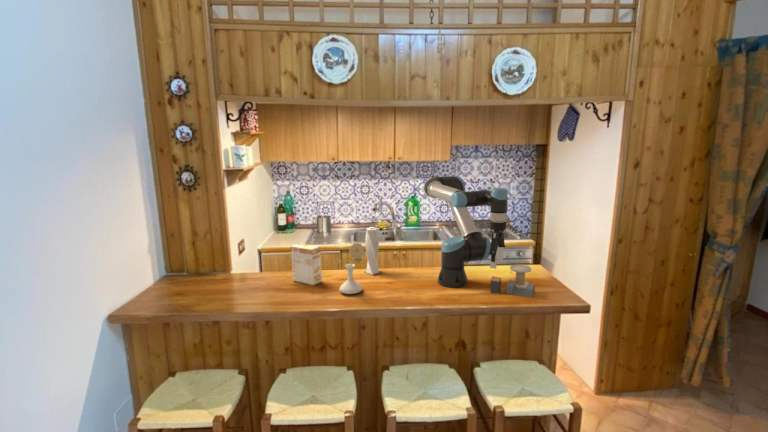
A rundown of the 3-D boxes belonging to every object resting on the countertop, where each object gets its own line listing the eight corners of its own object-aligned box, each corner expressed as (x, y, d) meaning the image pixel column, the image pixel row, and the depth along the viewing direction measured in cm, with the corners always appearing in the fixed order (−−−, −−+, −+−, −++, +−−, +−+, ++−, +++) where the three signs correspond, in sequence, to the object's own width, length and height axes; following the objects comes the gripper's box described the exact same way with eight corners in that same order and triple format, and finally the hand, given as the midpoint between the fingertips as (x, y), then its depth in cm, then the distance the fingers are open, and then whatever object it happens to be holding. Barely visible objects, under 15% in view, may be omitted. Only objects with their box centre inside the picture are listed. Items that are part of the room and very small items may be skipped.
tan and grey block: (490, 292, 200) (490, 278, 199) (492, 289, 204) (492, 276, 203) (498, 294, 198) (499, 280, 197) (500, 291, 202) (501, 277, 201)
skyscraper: (383, 272, 232) (382, 224, 226) (373, 276, 226) (372, 226, 220) (372, 269, 237) (371, 222, 232) (362, 273, 232) (361, 224, 226)
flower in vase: (339, 297, 198) (337, 246, 193) (338, 288, 209) (337, 240, 204) (366, 295, 200) (365, 245, 195) (364, 286, 211) (363, 239, 206)
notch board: (505, 293, 199) (506, 285, 198) (509, 288, 206) (509, 280, 205) (531, 297, 193) (532, 289, 192) (534, 292, 200) (535, 284, 199)
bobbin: (507, 287, 207) (508, 269, 205) (511, 280, 216) (512, 263, 214) (528, 290, 202) (529, 271, 201) (531, 283, 211) (532, 266, 209)
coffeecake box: (322, 281, 219) (320, 246, 215) (313, 285, 213) (311, 249, 210) (301, 276, 227) (299, 242, 223) (292, 280, 221) (290, 245, 217)
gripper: (500, 226, 182) (498, 272, 186) (511, 216, 203) (510, 258, 207) (483, 225, 185) (482, 270, 189) (496, 215, 207) (495, 256, 211)
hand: (496, 264), depth 198 cm, fingers open, 13 cm apart
